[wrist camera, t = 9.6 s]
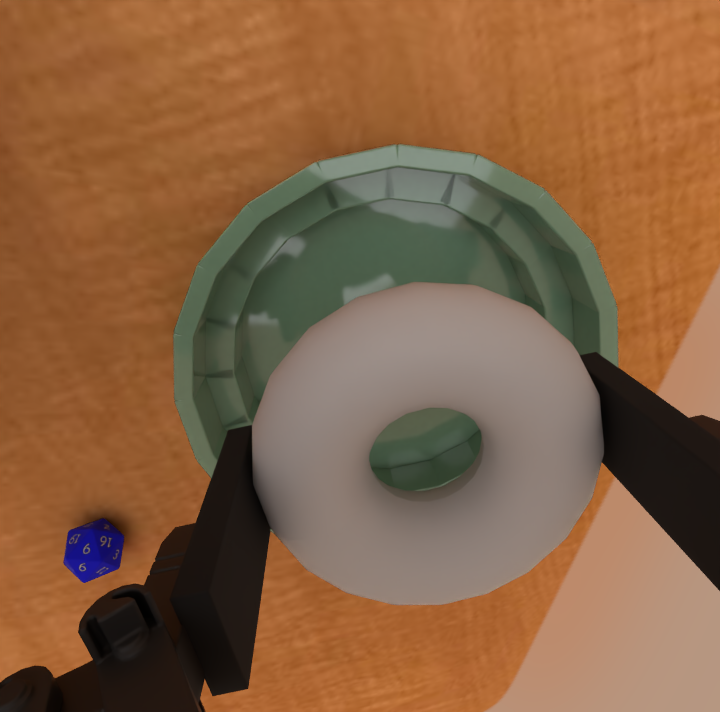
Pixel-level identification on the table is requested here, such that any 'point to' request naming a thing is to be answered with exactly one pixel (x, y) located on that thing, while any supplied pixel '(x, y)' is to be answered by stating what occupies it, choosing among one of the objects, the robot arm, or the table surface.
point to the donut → (413, 393)
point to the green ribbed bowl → (377, 285)
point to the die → (93, 550)
